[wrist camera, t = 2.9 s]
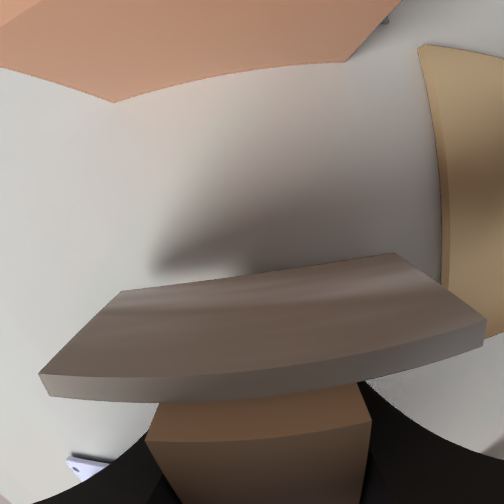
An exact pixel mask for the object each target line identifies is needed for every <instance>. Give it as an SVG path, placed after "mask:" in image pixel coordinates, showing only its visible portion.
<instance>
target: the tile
mask: <svg viewBox="0 0 504 504" xmlns="http://www.w3.org/2000/svg"><path fill="white" fill-rule="evenodd" d="M401 1H402V0H0V67H1V68H5V69H9V70H13V71H16V72H20V73H23V74H27V75H30V76H34V77H37V78H41V79H44V80H47V81H50V82H54V83H57V84H60V85H63V86H66V87H69V88H72V89H75V90H78V91H81V92H84V93H87V94H90V95H93V96H95V97H98V98H101V99H104V100H107V101H109V102H112V103H116V102H119V101H122V100H126V99H129V98H132V97H135V96H138V95H142V94H145V93H149V92H152V91H156V90H160V89H163V88H167V87H171V86H175V85H179V84H183V83H187V82H192V81H196V80H201V79H206V78H211V77H216V76H221V75H226V74H232V73H238V72H244V71H251V70H258V69H265V68H273V67H282V66H292V65H303V64H317V63H336V62H346V61H347V59H348V58H349V57H350V56H351V55H352V54H353V53H354V52H355V50H356V49H357V48H358V47H359V46H360V45H361V44H362V43H363V42H364V40H365V39H366V38H367V37H368V36H369V35H370V34H371V33H372V32H373V31H374V29H375V28H376V27H377V26H378V25H379V24H380V23H381V22H382V21H383V20H384V19H385V18H386V16H387V15H388V14H389V13H390V12H391V11H392V10H393V9H394V8H395V7H396V6H397V5H398V4H399V3H400V2H401Z"/></svg>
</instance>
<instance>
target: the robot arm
mask: <svg viewBox="0 0 504 504" xmlns="http://www.w3.org/2000/svg"><path fill="white" fill-rule="evenodd" d="M356 383H357V385H358V388H359V390H360V392H361V395H362V397H363V400H364V402H365V405H366V407H367V409H368V412H369V414H370V417H371V419H372V425H371V433H370V441H369V449H368V456H367V462H366V468H365V474H364V480H363V486H362V491H361V496H360V501H359V504H504V460H501V459H497V458H493V457H490V456H486V455H483V454H480V453H477V452H474V451H471V450H469V449H466V448H464V447H462V446H459V445H457V444H455V443H452V442H450V441H448V440H445V439H443V438H441V437H440V436H438V435H436V434H434V433H432V432H430V431H429V430H427V429H425V428H424V427H422V426H420V425H419V424H417V423H416V422H414V421H413V420H411V419H410V418H408V417H407V416H406V415H404V414H403V413H402V412H400V411H399V410H398V409H396V408H395V407H394V406H392V405H391V404H390V403H389V402H387V401H386V400H385V399H384V398H383V397H382V396H381V395H379V394H378V393H377V392H376V391H375V390H374V389H373V388H372V387H370V386H369V385H368V384H367V383H366V382H365V381H360V382H356ZM148 431H149V430H148ZM148 431H147V432H146V433H145V434H144V435H143V436H142V437H141V438H140V439H139V440H138V441H137V442H136V443H135V444H134V445H133V446H132V447H130V448H129V449H128V450H127V451H126V452H125V453H124V454H122V455H121V456H120V457H118V458H117V459H116V460H115V461H113V462H112V463H111V464H109V463H102V462H96V461H91V460H85V459H80V458H76V457H68V458H67V459H66V462H67V464H68V465H69V467H70V468H71V469H72V470H73V471H74V473H75V474H76V475H77V476H78V478H79V479H80V480H81V481H82V482H81V483H80V484H78V485H76V486H74V487H72V488H70V489H68V490H66V491H64V492H62V493H59V494H57V495H55V496H53V497H50V498H48V499H45V500H42V501H39V502H36V503H33V504H183V503H182V502H181V500H180V499H179V497H178V496H177V494H176V493H175V491H174V490H173V488H172V487H171V485H170V483H169V482H168V480H167V479H166V477H165V475H164V474H163V472H162V470H161V469H160V467H159V465H158V464H157V462H156V460H155V458H154V457H153V455H152V453H151V451H150V450H149V448H148V446H147V444H146V442H145V438H146V436H147V433H148Z"/></svg>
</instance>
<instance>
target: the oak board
mask: <svg viewBox="0 0 504 504" xmlns="http://www.w3.org/2000/svg"><path fill="white" fill-rule="evenodd" d="M417 51H418V54H419V58H420V62H421V66H422V70H423V74H424V79H425V83H426V88H427V93H428V98H429V103H430V108H431V114H432V120H433V126H434V133H435V140H436V148H437V157H438V166H439V177H440V191H441V210H442V270H441V285H442V286H443V287H445V288H446V289H447V290H449V291H450V292H452V293H453V294H454V295H456V296H457V297H458V298H460V299H461V300H463V301H464V302H465V303H467V304H468V305H469V306H471V307H472V308H473V309H475V310H476V311H477V312H479V313H480V314H481V315H482V316H484V317H485V318H486V319H487V325H486V330H485V336H484V339H486V338H489V337H492V336H494V335H497V334H499V333H502V332H504V59H501V58H497V57H493V56H489V55H484V54H480V53H475V52H470V51H464V50H459V49H453V48H446V47H440V46H432V45H423V46H421V47H420V48H418V49H417Z"/></svg>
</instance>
